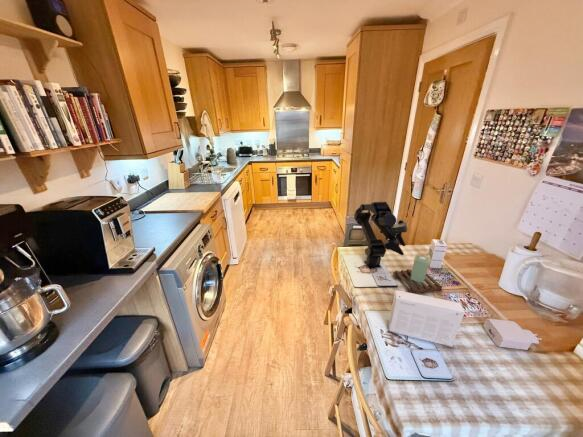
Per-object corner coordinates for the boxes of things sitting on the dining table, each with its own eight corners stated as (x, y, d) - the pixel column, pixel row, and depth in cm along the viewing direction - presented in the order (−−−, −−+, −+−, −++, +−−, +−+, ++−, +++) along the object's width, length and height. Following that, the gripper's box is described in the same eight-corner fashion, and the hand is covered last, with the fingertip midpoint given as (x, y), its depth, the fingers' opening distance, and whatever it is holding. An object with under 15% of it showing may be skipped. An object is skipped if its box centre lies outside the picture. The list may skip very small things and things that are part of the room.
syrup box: (440, 268, 122) (448, 245, 116) (428, 267, 123) (435, 244, 117) (437, 262, 127) (444, 239, 121) (425, 261, 128) (431, 238, 122)
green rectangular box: (410, 279, 109) (415, 259, 104) (410, 273, 114) (416, 253, 109) (423, 283, 107) (429, 262, 102) (423, 276, 111) (429, 256, 107)
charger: (547, 353, 78) (498, 347, 80) (526, 330, 87) (482, 326, 89) (553, 344, 76) (503, 338, 78) (531, 321, 85) (486, 317, 87)
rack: (410, 295, 104) (411, 290, 103) (392, 276, 116) (393, 271, 115) (441, 290, 107) (442, 285, 105) (420, 272, 119) (421, 267, 118)
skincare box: (448, 334, 85) (461, 302, 79) (452, 347, 81) (466, 314, 74) (387, 320, 92) (395, 288, 85) (388, 331, 87) (395, 299, 80)
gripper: (396, 225, 101) (418, 252, 101) (400, 210, 116) (420, 234, 116) (375, 236, 108) (396, 262, 108) (381, 221, 123) (400, 244, 123)
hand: (403, 250), depth 113 cm, fingers open, 9 cm apart
